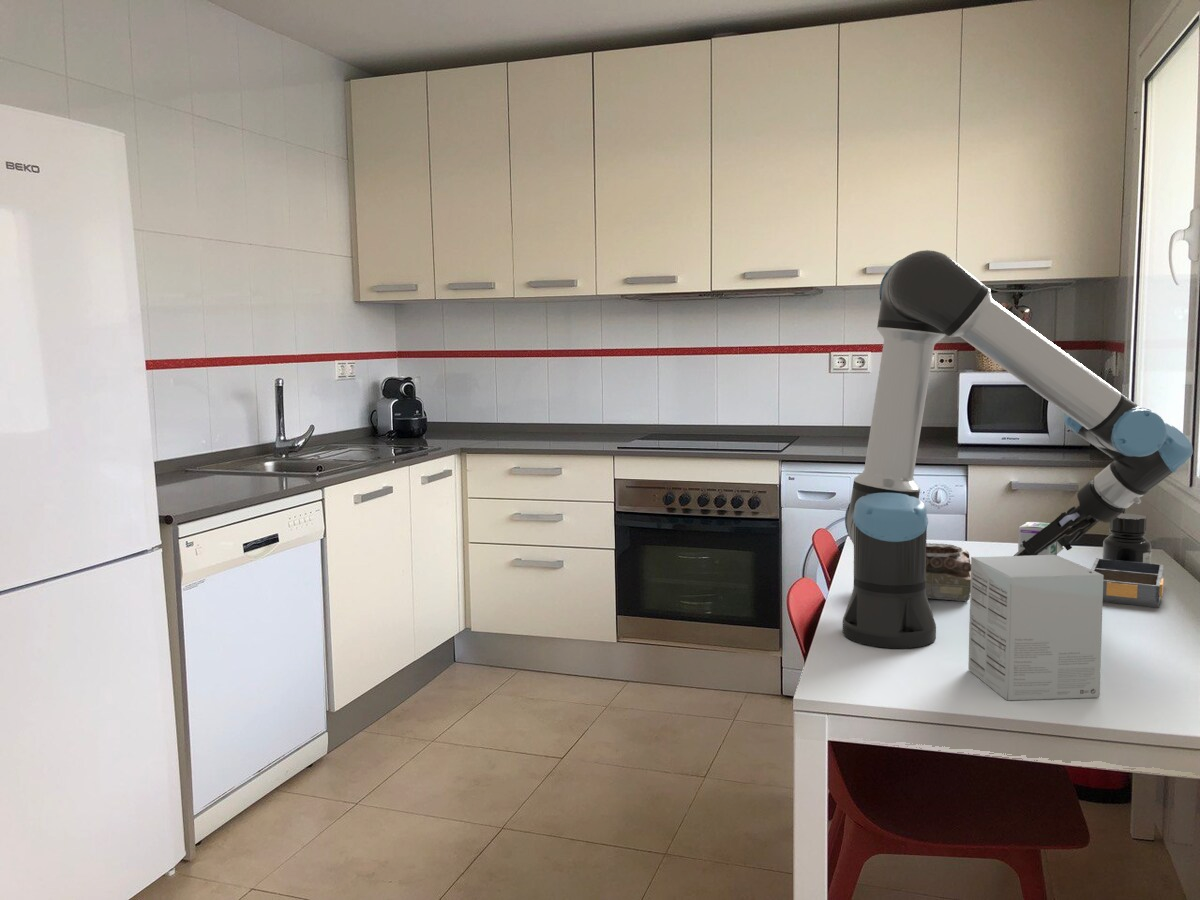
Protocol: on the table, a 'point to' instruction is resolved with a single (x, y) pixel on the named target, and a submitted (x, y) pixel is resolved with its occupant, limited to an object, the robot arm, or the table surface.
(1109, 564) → the grey divided tray
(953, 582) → the decorative box
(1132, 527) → the ink bottle
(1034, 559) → the supplement box
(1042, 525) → the syrup box
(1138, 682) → the table surface
